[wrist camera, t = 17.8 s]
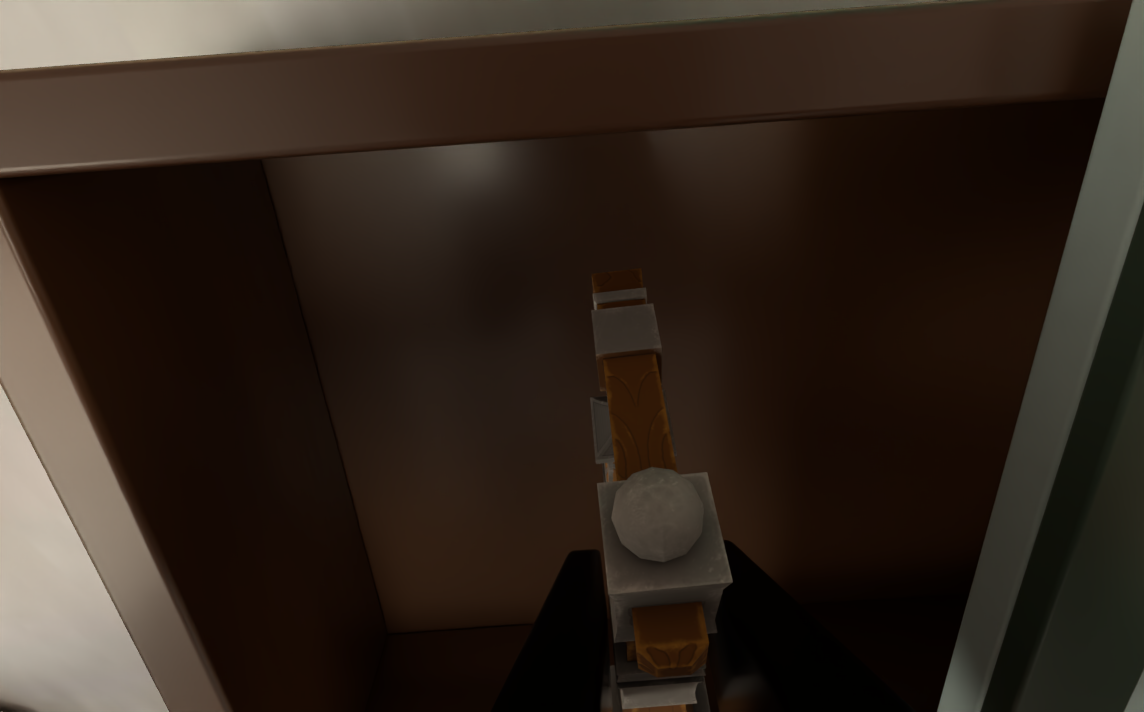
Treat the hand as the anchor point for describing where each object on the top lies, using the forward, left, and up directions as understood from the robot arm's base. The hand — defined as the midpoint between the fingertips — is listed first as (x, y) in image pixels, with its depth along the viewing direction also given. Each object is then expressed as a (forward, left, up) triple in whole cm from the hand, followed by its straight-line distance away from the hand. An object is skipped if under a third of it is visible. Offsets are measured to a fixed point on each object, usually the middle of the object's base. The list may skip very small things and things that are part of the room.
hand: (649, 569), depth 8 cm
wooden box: (0, -2, -5) cm, 5 cm away
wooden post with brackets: (0, 0, -2) cm, 2 cm away
